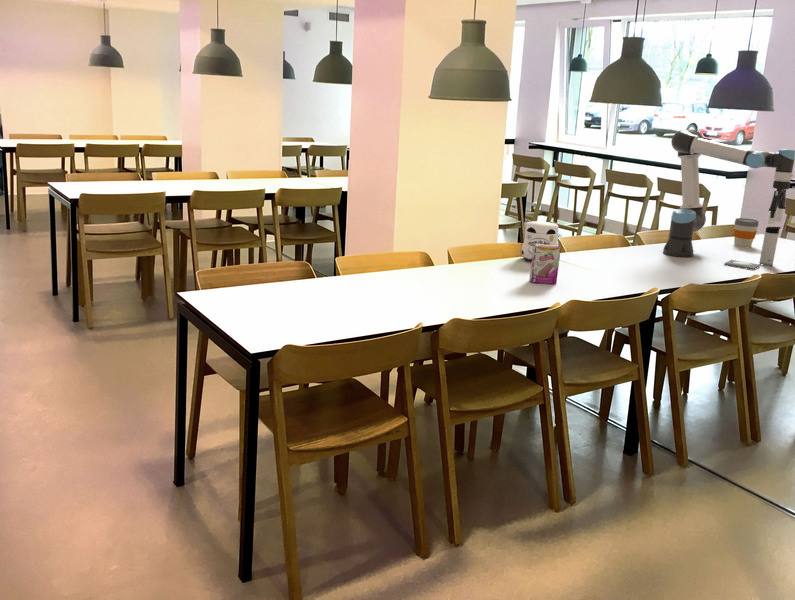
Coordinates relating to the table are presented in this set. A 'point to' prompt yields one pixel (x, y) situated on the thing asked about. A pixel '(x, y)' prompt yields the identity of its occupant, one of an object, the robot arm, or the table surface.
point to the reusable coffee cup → (744, 231)
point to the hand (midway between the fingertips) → (774, 222)
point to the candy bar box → (544, 264)
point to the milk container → (538, 236)
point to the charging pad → (741, 264)
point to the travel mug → (769, 245)
